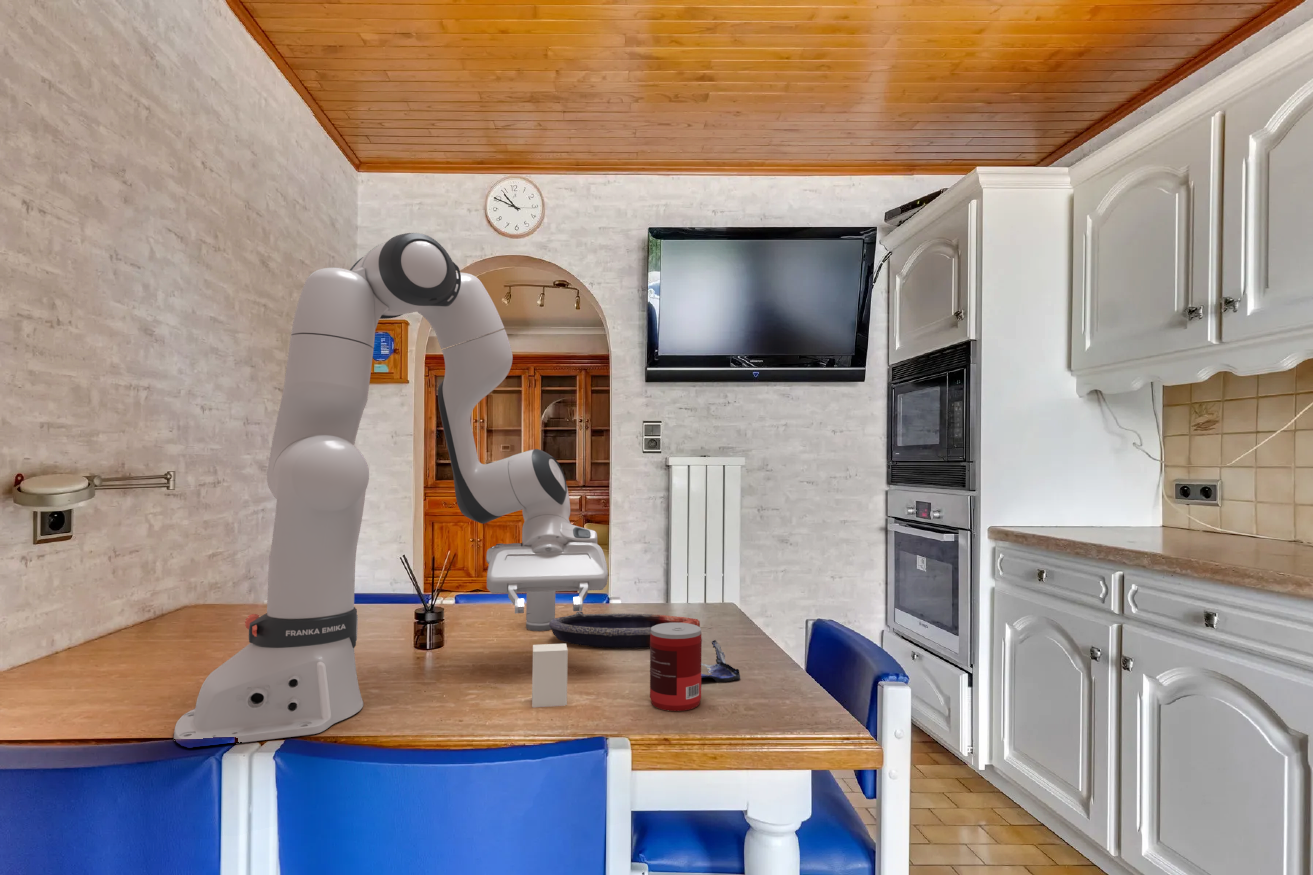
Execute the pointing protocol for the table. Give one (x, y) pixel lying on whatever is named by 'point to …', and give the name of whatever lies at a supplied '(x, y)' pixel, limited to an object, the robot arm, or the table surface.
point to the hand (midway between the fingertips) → (548, 610)
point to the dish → (611, 629)
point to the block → (549, 675)
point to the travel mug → (540, 610)
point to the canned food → (675, 666)
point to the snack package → (721, 667)
